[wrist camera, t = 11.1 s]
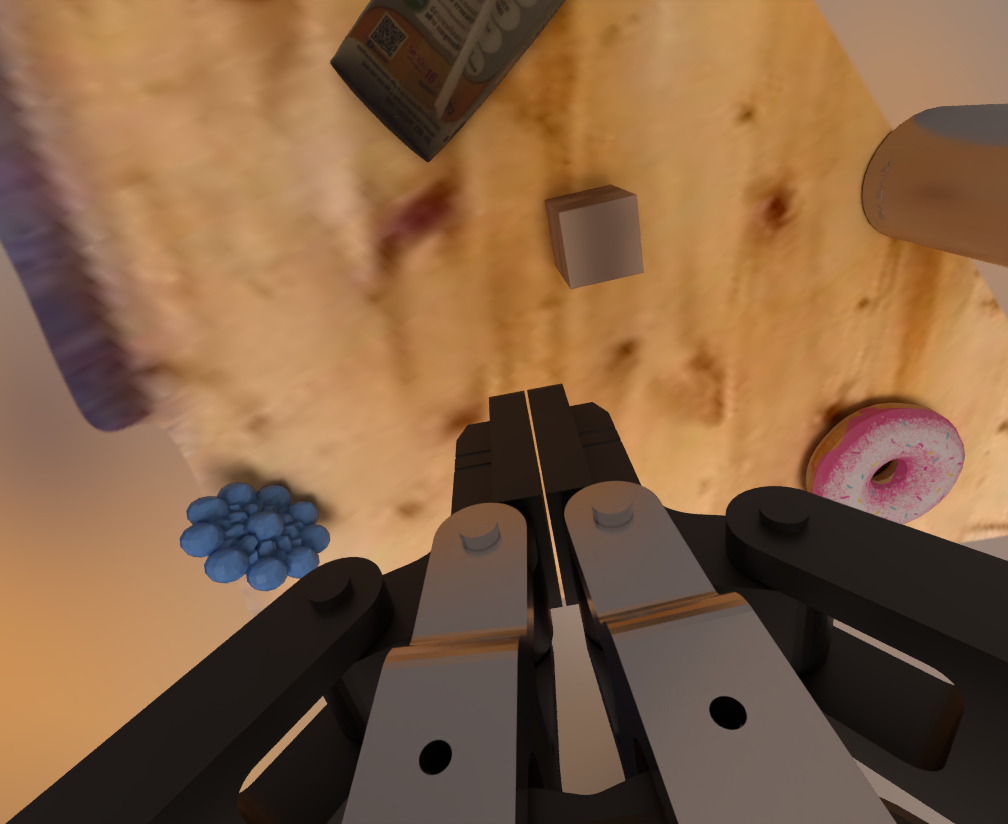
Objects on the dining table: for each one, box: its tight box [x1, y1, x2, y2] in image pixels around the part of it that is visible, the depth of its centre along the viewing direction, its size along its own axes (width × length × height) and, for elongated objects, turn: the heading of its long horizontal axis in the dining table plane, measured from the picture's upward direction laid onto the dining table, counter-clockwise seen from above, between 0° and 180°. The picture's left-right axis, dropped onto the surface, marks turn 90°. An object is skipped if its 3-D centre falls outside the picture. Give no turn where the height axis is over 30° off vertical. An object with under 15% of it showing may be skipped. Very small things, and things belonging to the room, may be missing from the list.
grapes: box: [180, 482, 330, 591], centre depth 46 cm, size 12×7×12 cm, turn 54°
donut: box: [806, 402, 965, 524], centre depth 51 cm, size 14×13×5 cm
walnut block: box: [545, 185, 644, 289], centre depth 39 cm, size 5×5×7 cm
